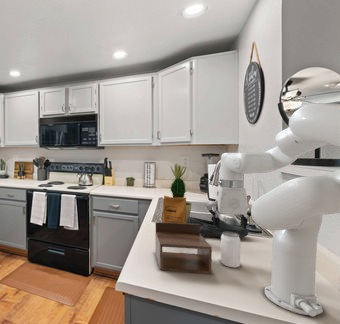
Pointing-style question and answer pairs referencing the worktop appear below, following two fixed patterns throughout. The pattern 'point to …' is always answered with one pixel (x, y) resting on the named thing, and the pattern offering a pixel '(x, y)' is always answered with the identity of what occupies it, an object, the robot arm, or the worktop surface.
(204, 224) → the loafer
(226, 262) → the can
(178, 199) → the coffee package
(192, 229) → the shelf
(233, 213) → the robot arm
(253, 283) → the worktop surface
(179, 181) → the potted cactus
